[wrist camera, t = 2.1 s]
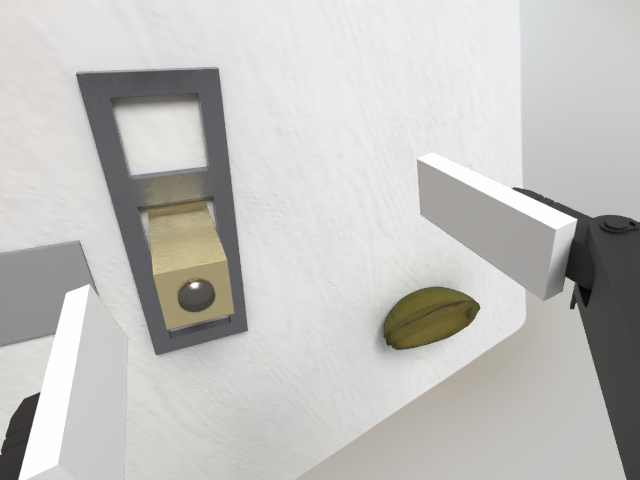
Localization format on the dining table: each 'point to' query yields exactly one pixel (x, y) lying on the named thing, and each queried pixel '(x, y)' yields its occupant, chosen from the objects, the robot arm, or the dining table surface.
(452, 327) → the fruit
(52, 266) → the pad
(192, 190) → the grey triple frame
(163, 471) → the dining table surface
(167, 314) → the brass block with knob
